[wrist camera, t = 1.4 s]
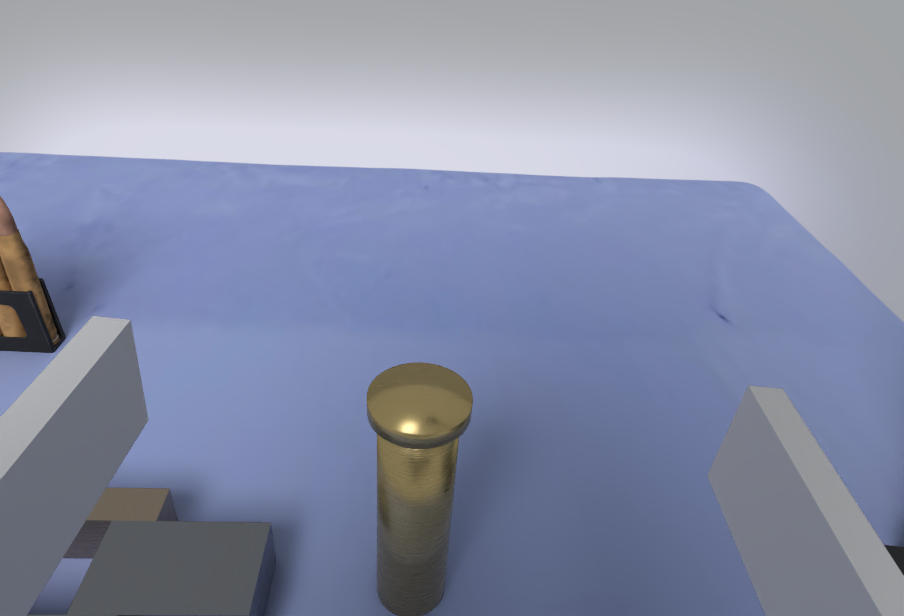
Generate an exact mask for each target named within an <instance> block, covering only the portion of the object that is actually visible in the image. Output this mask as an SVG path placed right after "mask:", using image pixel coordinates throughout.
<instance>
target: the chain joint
mask: <svg viewBox="0 0 904 616" xmlns="http://www.w3.org/2000/svg"><path fill="white" fill-rule="evenodd" d="M63 558H93V560H92V562H91V565H90V567H89V569H88V571H87V573H86V575H85V577H84V579H83V581H82V583H81V585H80V587H79V589H78V591H77V594H76V596H75V598H74V600H73V602H72V604H71V606H70V608H69V610H68V612H67V614H66V615H27V616H264V613H265V609H266V604H267V599H268V595H269V590H270V585H271V581H272V576H273V572H274V567H275V562H276V556H275V549H274V542H273V535H272V528H271V523H261V522H183V521H178V519H177V515H176V511H175V507H174V504H173V500H172V496H171V492H170V489H158V488H106V489H105V491H104V492H103V494H102V495H101V497H100V499H99V500H98V502H97V503H96V505H95V507H94V508H93V510H92V511H91V513H90V515H89V516H88V518H87V519H86V521H85V523H84V524H83V526H82V527H81V529H80V531H79V532H78V534H77V535H76V537H75V539H74V540H73V542H72V544H71V545H70V547H69V548H68V550H67V552H66V553H65V555H64V556H63Z"/></svg>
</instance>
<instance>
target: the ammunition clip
mask: <svg viewBox="0 0 904 616" xmlns="http://www.w3.org/2000/svg"><path fill="white" fill-rule="evenodd" d="M65 338H66V337H65V334H64V331H63V329H62V326H61V324H60V321H59V319H58V316H57V314H56V311H55V308H54V306H53V303H52V301H51V298H50V295H49V293H48V290H47V288H46V285H45V282H44V280H43V279H39V278H38V276H37V273H36V270H35V267H34V264H33V261H32V258H31V255H30V253H29V250H28V248H27V246H26V245H25V243H24V242H23V240H22V238H21V235H20V233H19V230H18V229H17V227H16V224H15V221H14V218H13V216H12V214H11V212H10V210H9V208H8V207H7V205H6V203H5V202H4V201H3V199H2V198H1V197H0V351H20V352H42V353H53V352H54V351H55V350H56V349H57V348H58V346H59V345H60V344H61V343H62V341H63V340H64V339H65Z"/></svg>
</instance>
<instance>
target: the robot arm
mask: <svg viewBox="0 0 904 616" xmlns="http://www.w3.org/2000/svg"><path fill="white" fill-rule="evenodd" d="M147 421H148V415H147V409H146V404H145V398H144V392H143V387H142V381H141V376H140V370H139V365H138V359H137V353H136V348H135V342H134V337H133V331H132V326H131V320H125V319H116V318H106V317H97V316H93V317H92V318H91V319H90V320H89V321H88V322H87V323H86V324H85V325H84V326H83V328H82V329H81V330H80V331H79V332H78V333H77V334H76V335H75V336H74V337H73V338H72V340H71V341H70V342H69V343H68V344H67V345H66V346H65V347H64V348H63V349H62V350H61V352H60V353H59V354H58V355H57V356H56V357H55V358H54V359H53V360H52V361H51V362H50V364H49V365H48V366H47V367H46V368H45V369H44V370H43V371H42V372H41V373H40V375H39V376H38V377H37V378H36V379H35V380H34V381H33V382H32V383H31V384H30V385H29V387H28V388H27V389H26V390H25V391H24V392H23V393H22V394H21V395H20V396H19V397H18V399H17V400H16V401H15V402H14V403H13V404H12V405H11V406H10V407H9V408H8V410H7V411H6V412H5V413H4V414H3V415H2V416H1V417H0V616H27V614H28V613H29V611H30V609H31V608H32V606H33V605H34V603H35V601H36V600H37V598H38V597H39V595H40V593H41V592H42V590H43V588H44V587H45V585H46V584H47V582H48V580H49V579H50V577H51V576H52V574H53V572H54V571H55V569H56V568H57V566H58V564H59V563H60V561H61V560H62V558H63V556H64V555H65V553H66V552H67V550H68V548H69V547H70V545H71V544H72V542H73V540H74V539H75V537H76V535H77V534H78V532H79V531H80V529H81V527H82V526H83V524H84V523H85V521H86V519H87V518H88V516H89V515H90V513H91V511H92V510H93V508H94V507H95V505H96V503H97V502H98V500H99V499H100V497H101V495H102V494H103V492H104V491H105V489H106V487H107V486H108V484H109V482H110V481H111V479H112V478H113V476H114V474H115V473H116V471H117V470H118V468H119V466H120V465H121V463H122V462H123V460H124V458H125V457H126V455H127V454H128V452H129V450H130V449H131V447H132V446H133V444H134V442H135V441H136V439H137V438H138V436H139V434H140V433H141V431H142V429H143V428H144V426H145V425H146V423H147ZM707 477H708V479H709V481H710V484H711V486H712V489H713V491H714V493H715V496H716V498H717V501H718V503H719V505H720V508H721V510H722V513H723V515H724V517H725V520H726V522H727V525H728V527H729V529H730V532H731V534H732V537H733V539H734V541H735V544H736V546H737V549H738V551H739V553H740V556H741V558H742V561H743V563H744V565H745V568H746V570H747V573H748V575H749V577H750V580H751V582H752V585H753V587H754V589H755V592H756V594H757V597H758V599H759V601H760V604H761V606H762V609H763V611H764V613H765V616H904V547H898V546H888V545H883V543H882V542H881V540H880V538H879V537H878V535H877V534H876V532H875V531H874V529H873V528H872V526H871V525H870V523H869V521H868V520H867V518H866V517H865V515H864V514H863V512H862V511H861V509H860V508H859V506H858V504H857V503H856V501H855V500H854V498H853V497H852V495H851V494H850V492H849V491H848V489H847V487H846V486H845V484H844V483H843V481H842V480H841V478H840V477H839V475H838V474H837V472H836V470H835V469H834V467H833V466H832V464H831V463H830V461H829V460H828V458H827V457H826V455H825V453H824V452H823V450H822V449H821V447H820V446H819V444H818V443H817V441H816V440H815V438H814V436H813V435H812V433H811V432H810V430H809V429H808V427H807V426H806V424H805V423H804V421H803V419H802V418H801V416H800V415H799V413H798V412H797V410H796V409H795V407H794V406H793V404H792V402H791V401H790V399H789V398H788V396H787V395H786V393H785V392H784V390H783V389H778V388H768V387H759V386H749V385H748V387H747V389H746V391H745V394H744V396H743V398H742V400H741V402H740V405H739V407H738V409H737V411H736V413H735V416H734V418H733V420H732V422H731V424H730V427H729V429H728V431H727V433H726V435H725V438H724V440H723V442H722V444H721V446H720V449H719V451H718V453H717V455H716V457H715V459H714V462H713V464H712V466H711V468H710V470H709V473H708V475H707Z"/></svg>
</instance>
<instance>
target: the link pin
mask: <svg viewBox="0 0 904 616" xmlns="http://www.w3.org/2000/svg"><path fill="white" fill-rule="evenodd" d="M472 403H473V396H472V392H471V389H470V387H469V386H468V384H467V383H466V381H465V380H464V379H463V378H462V377H461V376H459V375H458V374H457V373H455V372H453V371H452V370H450V369H447V368H445V367H442V366H439V365H435V364H429V363H407V364H401V365H398V366H395V367H392V368H389V369H387V370H385V371H384V372H382V373H381V374H379V375H378V376H377V377H376V378H375V379H374V380H373V381H372V383H371V384H370V386H369V389H368V392H367V416H368V420H369V423H370V425H371V427H372V428H373V430H374V431H375V432H376V433H377V592H378V596H379V599H380V601H381V602H382V604H383V605H384V606H385V608H386V609H388V610H389V611H390V612H392V613H394V614H396V615H398V616H422V615H425V614H427V613H429V612H430V611H432V610H433V609H434V608H435V607H436V606H437V605H438V604H439V602H440V600H441V598H442V596H443V592H444V584H445V574H446V564H447V554H448V544H449V533H450V523H451V513H452V503H453V493H454V483H455V473H456V462H457V452H458V442H459V436H461V435H462V434H463V433H464V431H465V430H466V429H467V427H468V425H469V423H470V419H471V412H472Z"/></svg>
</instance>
